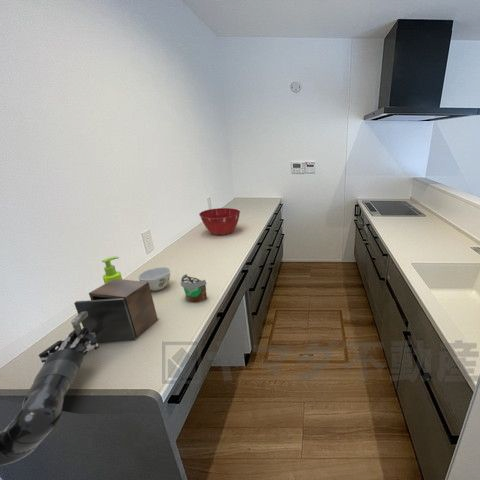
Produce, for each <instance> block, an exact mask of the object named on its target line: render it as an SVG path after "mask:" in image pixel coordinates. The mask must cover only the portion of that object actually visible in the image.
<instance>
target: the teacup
mask: <svg viewBox="0 0 480 480" xmlns="http://www.w3.org/2000/svg"><path fill="white" fill-rule="evenodd" d="M137 278H138V281H143V282H149V286H150V290H151V292H155V291H156V292H157V291H161V290H163V289H165V288H166V286H167V285H168V283H169V282H170V279H171V270H170V267H169V268H168V267H166V266H163V267H162V266H161V267H154V268H150V269H147V270H144V271H142V272H141V273H140V274H139V275H138V277H137Z"/></svg>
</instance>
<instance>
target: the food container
mask: <svg viewBox="0 0 480 480" xmlns="http://www.w3.org/2000/svg"><path fill="white" fill-rule="evenodd" d="M180 286H181V287H182V288H183V292H184V294H185V298H186V300H187V302H190V303H199V302H203V301H205V300H207V299H208V298H207V297H208V295H207V281H206V279H203V280H202V279H199V278H197V277H193V276H188V274H187V273H186V274H183V276H182V277H181V279H180Z"/></svg>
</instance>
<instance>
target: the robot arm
mask: <svg viewBox="0 0 480 480" xmlns="http://www.w3.org/2000/svg"><path fill="white" fill-rule="evenodd" d="M81 329H82V330H81V332H80V334H79V337H78V338H77V336H76V333H75V331H74V329H73V330H72V331H71V332H70V333H69V334H68V336H67V337H65V339H63V340H61V339H60V340H58V341H56V342H54V343H53V344H52V345H50V346H49V347H47V348H46V349H44V350H43V351H42V352H40V353H39V354H38V357H39V359H40V361H41V363H43V365H42V366H41V368H40V370H39V371H38V373H37V374H36V376H35V378H34V380H33V383H32V385H31V387H30V388H29V390H28V391H27V392H26V395H25V396H24V398H23V400H22V405H21V407H22V408H21V409H20V411H19V412H18V414H17V415H16V416H15V417H14V419H12V421H11V422H10V423H9V424H8V425H7V426H6V427H5V428H4V429H3V430H1V431H0V467H1V466H5V465H9V464H13V463H15V462H18V461H20V460H22V459H24V458H25V457H27V456H29V455H30V454H31V453H33V452H34V451H35V450H36V448H37V447H39V445H40V444H41V443H42V442H43V441H44V440H45V438H46V437H47V436H48V435H49V434H50V433H51V432H52V431H53V429H54V428H55V427H56V426H57V423H58V422H59V420H60V418H61V415H62V413H63V408H64V401H65V398H66V396H67V394H68V391H69V389H70V387H71V385H72V384H73V383H74V381H75V379H76V377H77V375H78V372H79V370H80V368H81V366H82V364H83V361H84V357H85V356H86V355H87V354H88V353H89V351H91V350H98V349H99V348H100V344H98V342H97V340H96V339H95V338H94V337H93V336H92V335H91V334H89V332H88V329H86V328H83V327H81ZM86 342H88V343H89V344H88V345H87V346H84V345H85V343H86Z"/></svg>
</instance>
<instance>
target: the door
mask: <svg viewBox="0 0 480 480" xmlns="http://www.w3.org/2000/svg"><path fill="white" fill-rule="evenodd" d="M74 307H75V310H76V312H77V315H76V316H75V317H73V318H72V319H71V321H70V322H71V325H72V328H73V330H74V331H75V333H76V336H77V338H78V337H79V334H80V332H81V330H82V328H86V329H88V332H89V334H91V335H92V336H93V337H94V338H95V339H96V340H97V342H98V344H99V345H100V344H110V343H118V342H119V343H120V342H132V341H136V339H137V338H136V336H135V332H134V329H133V326H132V322H131V319H130V316H129V312H128V309H127V306H126V302H125V299H124V298H117V299H103V300H91V299H89V300H76V301H75V302H74ZM81 325H82V326H81ZM88 344H89V343H88V342H86V343H85V345H84V346H86V347H87V346H88Z"/></svg>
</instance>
